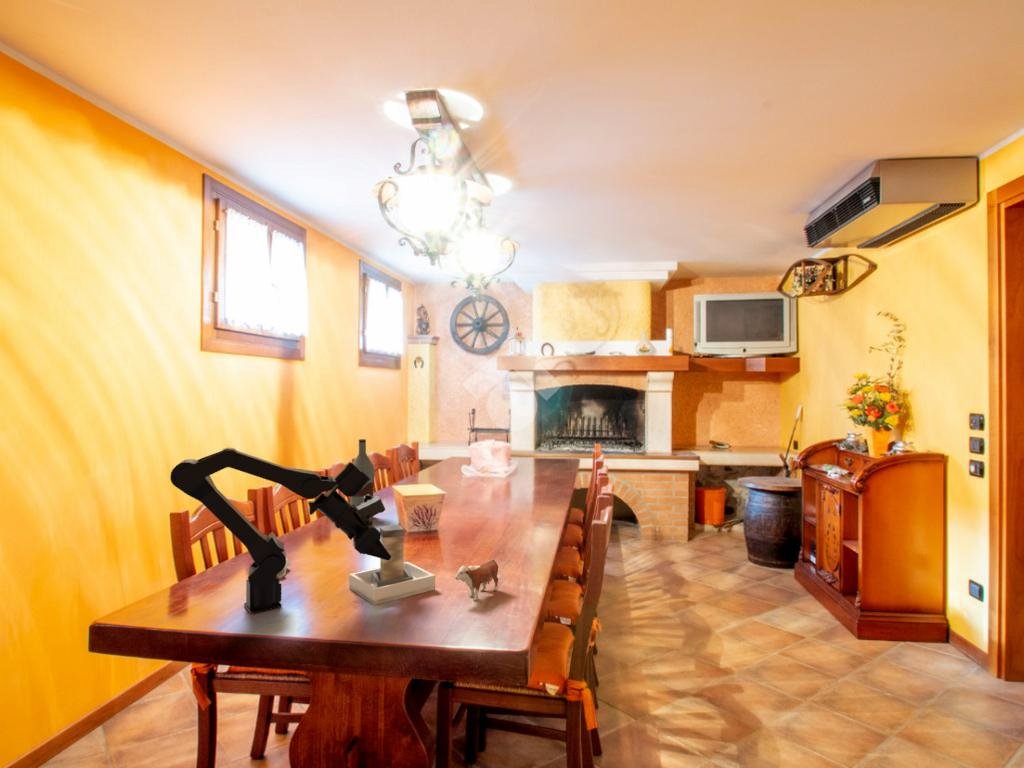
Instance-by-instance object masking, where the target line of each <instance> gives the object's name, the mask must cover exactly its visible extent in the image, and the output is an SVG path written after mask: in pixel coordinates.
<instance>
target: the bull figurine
mask: <svg viewBox="0 0 1024 768" xmlns="http://www.w3.org/2000/svg"><path fill="white" fill-rule="evenodd" d="M498 572H499V565H498V563H497V562H496V561H495V560H494V559H491V560H489V561H487V562H483V563H481V564H479V565H469V566H468V567H467V566H466V565H462V566H461V567H460V568H459V569H458V571H457V573H456V575H454V580H456V581H459V580H460V581H461V582H463V583H464V582H465V584H466V585H467V586H468V588H469V589H470V595H469V598H473V597H474V598H473V601H474V602H478V600H479V593H480V592H484V591H485V590H487V589H486V588H487V585H489V584H490V582H492V581H493V582H494V588H493V592H497V591H498V590H499V587H498V584H499V583H498V582H499V577H498ZM481 585H482V587H481ZM474 589H475V590H474Z"/></svg>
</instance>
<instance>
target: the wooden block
mask: <svg viewBox="0 0 1024 768" xmlns="http://www.w3.org/2000/svg"><path fill="white" fill-rule="evenodd" d="M379 532H380V533H381V536H380V542H381V543H382V545H383V546H384V547H385V549H386V550H387V551H388V553H389V554H390V556H391V558H390V560H385V559H381V558H379V559H380V563H379V564H380V565H379V566H380V567H379V568H380V581H384V580H392V579H399V578H404V559H405V558H404V556H405V555H404V553H405V552H404V550H405V549H404V546H405V545H404V543H405V542H404V541H405V540H404V538H405V537H404V536H405V529H404V527H403V526H402V525H401V524H392V525H384V526H383V525H382V526H379Z"/></svg>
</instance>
